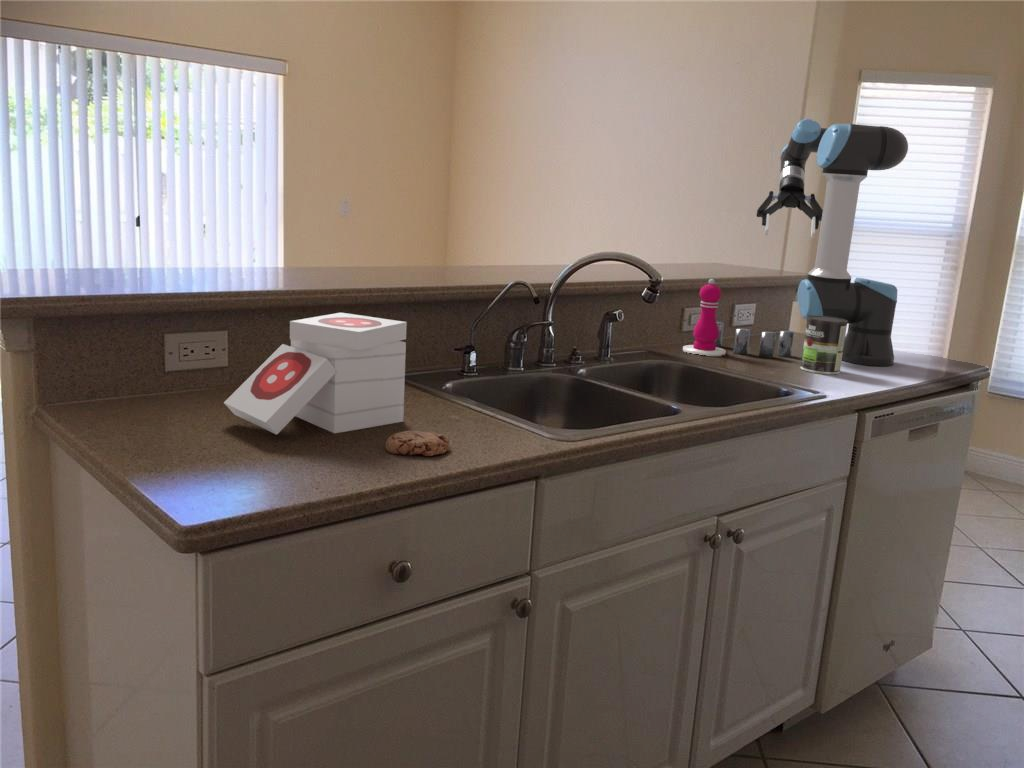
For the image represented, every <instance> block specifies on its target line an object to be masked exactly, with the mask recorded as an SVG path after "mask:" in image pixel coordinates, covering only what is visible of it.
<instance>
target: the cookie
mask: <svg viewBox="0 0 1024 768" xmlns="http://www.w3.org/2000/svg"><path fill="white" fill-rule="evenodd" d="M449 444H450V438H449V437H448V436H446V435H444V434H442V433H437V432H435V431H423V430H405V431H399V432H397V433H393V434H392V435H390V436H388V438H387V439H386V442H385V450H387V451H386V452H389V453H391V454H393V455H394V454H395V455H396V454H397V455H398V454H400V455H405V456H407V455H408V456H413V455H420V454H422V456H424V457H433V455H434V456H436V455H439V454H440V455H441V454H445V452H446V451H448V452H450V449H451V448H450V445H449ZM446 453H447V452H446ZM406 454H407V455H406Z"/></svg>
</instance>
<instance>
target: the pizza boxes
mask: <svg viewBox="0 0 1024 768" xmlns="http://www.w3.org/2000/svg"><path fill="white" fill-rule="evenodd" d="M407 325H408V322H407V321H403V320H402V321H401V320H396V319H395V320H394V319H389V318H388V319H387V318H381V317H373V316H369V315H360V314H354V313H346V312H336V313H331V314H325V315H324V314H323V315H319V316H313V317H307V318H302V319H295V320H289V340H290V345H287V344H284V343H282V344H281V345H280V346H279V347H278V348H276V350H275V351H273V353H272V354H271V355H270V356H269V357H268V358H266V360H265V361H264V362H263V363H262V364H261V365H260V366H259V367H258V368H257V369H255V371H254V372H253V373H252V374H251V375H250V376H249V377H248V378H247V379H246V380H244V382H242V384H240V386H239V387H238V388H236V390H235V391H234V392H233V393H232V394H231V395H230V396H229V397H227V399H226V400H225V401H224V402H223V404H224V405H225V406H226V407H227V408H228V409H229V410H230V412H231V413H232V414H234V416H237V417H239V418H241V419H243V420H246V422H247V421H248V422H249V423H252V424H253V425H255V426H258V427H259V428H262V429H264V430H266V431H268V432H270V433H272V434H274V435H278V434H279V433H280V432H281V431H282V430H283V429H284V428H285V427H286V426H287V425H288V424H289V422H291V421H292V420H293V419H294V418H299V419H301V420H303V421H306V422H307V423H309V424H312V425H314V426H317V427H318V428H322V429H324V430H326V431H328V432H330V433H332V434H338V433H339V434H340V433H344V432H350V431H351V432H352V431H356V430H362V429H367V428H368V429H369V428H373V427H374V428H375V427H379V426H385V425H390V424H397V423H402V422H404V413H405V412H404V411H405V381H406V380H405V378H406V377H405V376H406V358H407V357H406V355H407V352H406V351H407V349H406V348H407V342H405V341H403V340H407V328H408V327H407Z"/></svg>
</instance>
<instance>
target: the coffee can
mask: <svg viewBox="0 0 1024 768" xmlns="http://www.w3.org/2000/svg"><path fill="white" fill-rule="evenodd" d="M848 325H849V324H848V321H847V320H845V319H841V318H836V317H829V316H807V320H806V327H805V334H804V340H803V347H802V355H801V362H800V367H799V368H800V369H801V370H802V371H804V372H807V373H812V374H819V375H827V376H828V375H829V376H832V375H835V376H836V375H839V374H840V373H841V365H842V361H843V360H842V354H843V347H844V341H845V336H846V334H847V329H848V328H847V327H848Z"/></svg>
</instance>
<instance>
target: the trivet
mask: <svg viewBox="0 0 1024 768" xmlns="http://www.w3.org/2000/svg"><path fill="white" fill-rule="evenodd" d="M693 346H694V344H688V345H686V344H685V345H683V346H682V351H683V353H686V352H687V353H686V354H689V353H692V354H691V355H694V354H699V355H698V356H700V355H706V356H705V357H723V356H722V355H724V356H725V355H726V354H727V353H726V351H727V350H726V349H724V348H722V347H716V349H715V350H713V351H704V350H698V349H695V348H693Z"/></svg>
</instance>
